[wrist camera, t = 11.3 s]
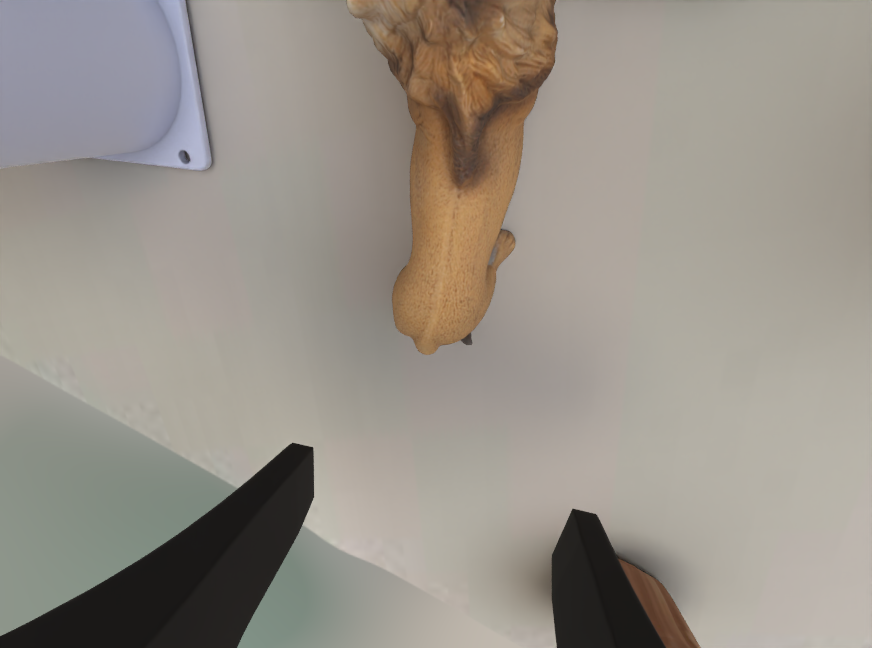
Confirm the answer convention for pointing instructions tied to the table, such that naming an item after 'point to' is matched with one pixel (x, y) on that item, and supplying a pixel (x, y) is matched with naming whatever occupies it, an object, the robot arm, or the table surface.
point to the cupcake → (660, 609)
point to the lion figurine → (460, 145)
